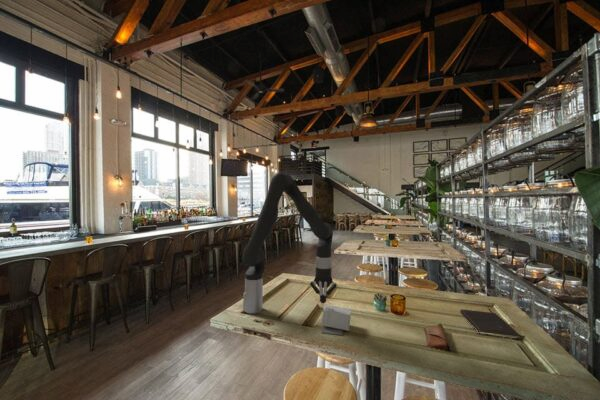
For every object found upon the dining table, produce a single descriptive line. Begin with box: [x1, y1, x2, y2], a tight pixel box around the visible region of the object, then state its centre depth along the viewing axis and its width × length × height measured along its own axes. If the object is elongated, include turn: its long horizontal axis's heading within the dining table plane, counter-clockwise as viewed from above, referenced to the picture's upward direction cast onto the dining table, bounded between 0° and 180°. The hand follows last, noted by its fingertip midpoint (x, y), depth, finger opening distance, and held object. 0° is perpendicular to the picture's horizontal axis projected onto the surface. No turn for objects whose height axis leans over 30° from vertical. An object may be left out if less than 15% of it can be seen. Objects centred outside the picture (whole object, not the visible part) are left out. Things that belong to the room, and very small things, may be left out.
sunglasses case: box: [423, 323, 451, 352], centre depth 111 cm, size 18×7×7 cm
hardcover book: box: [459, 309, 521, 338], centre depth 125 cm, size 16×23×2 cm
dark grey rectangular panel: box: [321, 325, 344, 336], centre depth 121 cm, size 9×15×1 cm, turn 169°
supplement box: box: [320, 304, 352, 332], centre depth 120 cm, size 7×7×13 cm
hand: (323, 302), depth 121 cm, fingers closed
